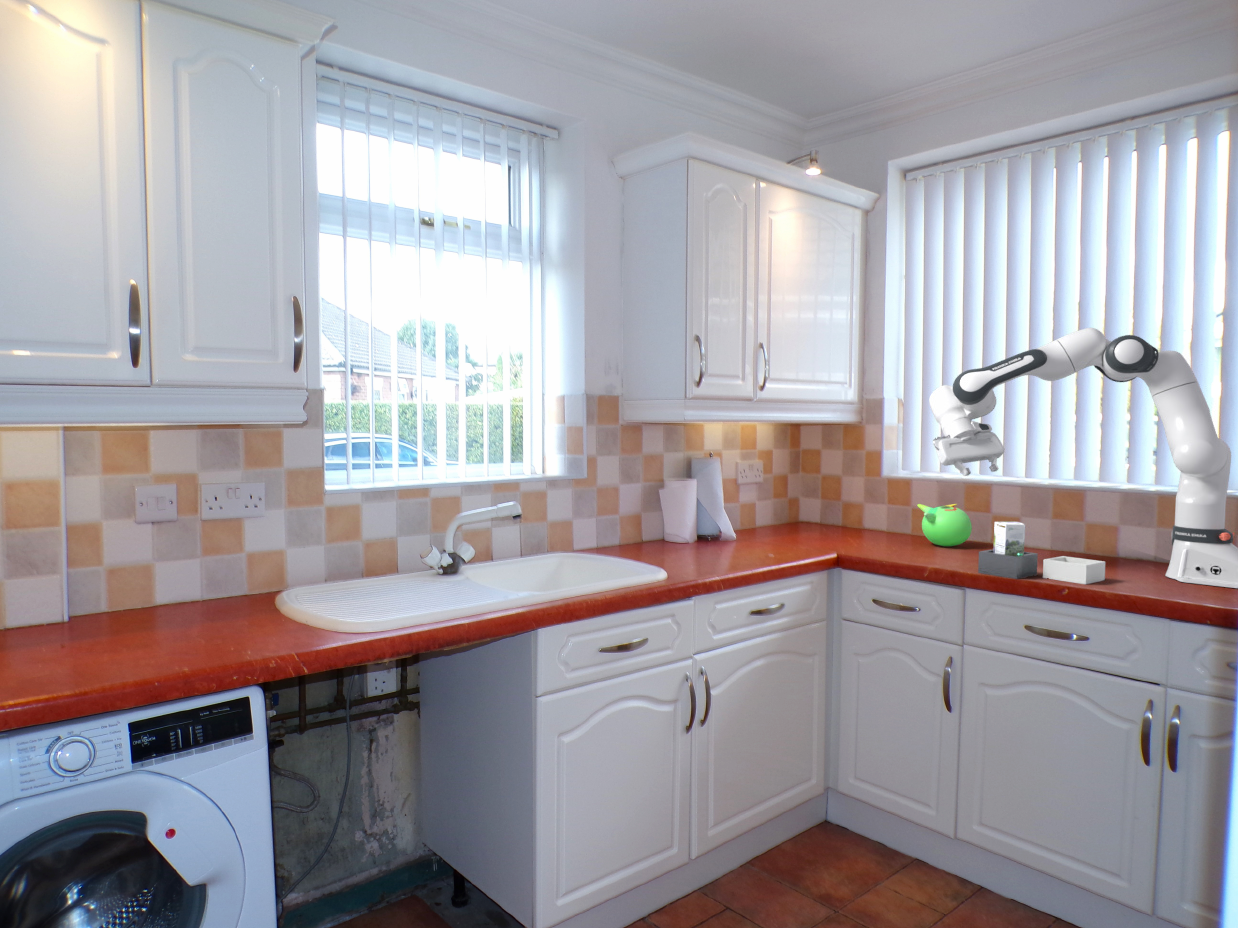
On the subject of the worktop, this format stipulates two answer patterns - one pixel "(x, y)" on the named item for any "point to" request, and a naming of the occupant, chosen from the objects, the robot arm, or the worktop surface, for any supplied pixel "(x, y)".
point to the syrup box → (1009, 538)
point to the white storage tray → (1074, 569)
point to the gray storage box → (1008, 564)
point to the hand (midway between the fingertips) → (981, 472)
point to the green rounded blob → (945, 525)
